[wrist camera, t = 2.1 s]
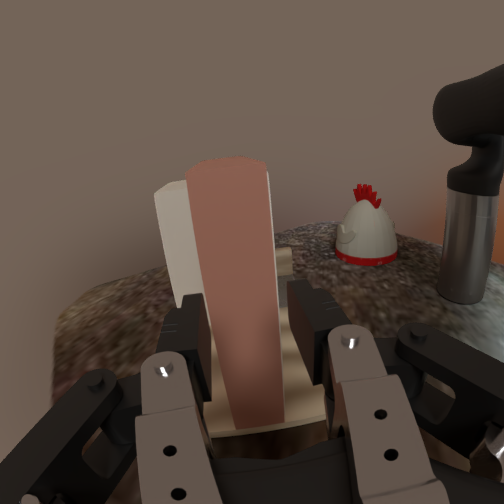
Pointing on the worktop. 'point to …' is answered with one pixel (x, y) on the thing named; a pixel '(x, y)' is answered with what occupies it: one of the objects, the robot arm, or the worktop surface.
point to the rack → (294, 374)
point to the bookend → (283, 289)
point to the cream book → (179, 240)
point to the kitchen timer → (366, 232)
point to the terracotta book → (240, 283)
